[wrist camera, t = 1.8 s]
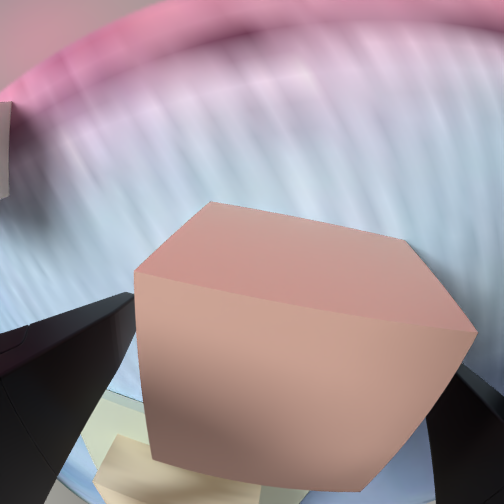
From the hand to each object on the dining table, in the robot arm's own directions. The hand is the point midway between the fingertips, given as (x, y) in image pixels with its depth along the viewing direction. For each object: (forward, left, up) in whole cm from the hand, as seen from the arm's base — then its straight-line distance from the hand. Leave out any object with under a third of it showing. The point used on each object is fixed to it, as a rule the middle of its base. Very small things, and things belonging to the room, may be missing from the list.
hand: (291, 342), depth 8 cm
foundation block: (+3, +14, -1) cm, 14 cm away
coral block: (0, 0, -2) cm, 2 cm away
